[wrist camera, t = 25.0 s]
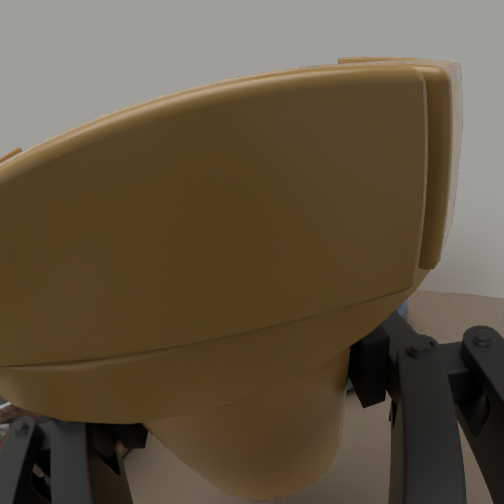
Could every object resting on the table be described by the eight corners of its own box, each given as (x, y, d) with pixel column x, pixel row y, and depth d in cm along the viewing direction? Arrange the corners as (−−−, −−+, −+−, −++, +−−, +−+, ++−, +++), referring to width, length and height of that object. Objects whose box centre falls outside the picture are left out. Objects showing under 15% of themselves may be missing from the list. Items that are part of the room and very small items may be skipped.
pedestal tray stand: (408, 495, 9) (621, 110, 1) (160, 540, 9) (-165, 311, 1) (338, 327, 18) (318, 58, 10) (162, 365, 17) (49, 131, 10)
